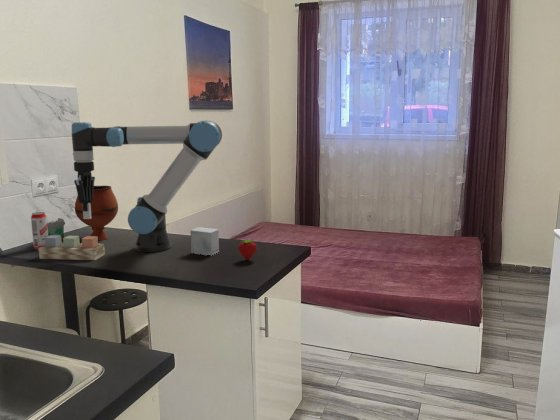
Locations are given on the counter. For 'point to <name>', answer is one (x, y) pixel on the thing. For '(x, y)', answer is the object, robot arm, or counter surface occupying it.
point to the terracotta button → (90, 242)
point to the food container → (56, 228)
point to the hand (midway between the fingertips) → (87, 218)
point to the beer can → (39, 229)
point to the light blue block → (53, 241)
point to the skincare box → (204, 241)
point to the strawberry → (247, 249)
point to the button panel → (72, 252)
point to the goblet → (99, 210)
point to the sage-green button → (71, 241)
